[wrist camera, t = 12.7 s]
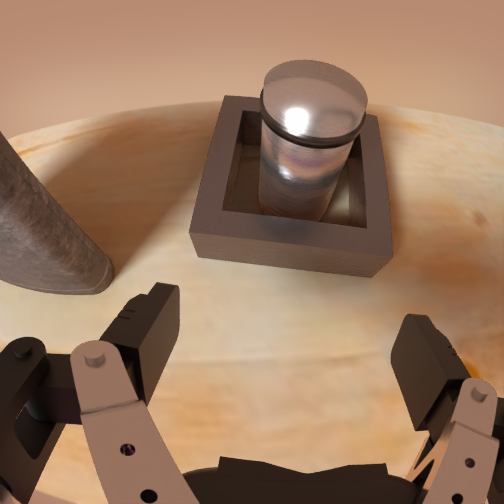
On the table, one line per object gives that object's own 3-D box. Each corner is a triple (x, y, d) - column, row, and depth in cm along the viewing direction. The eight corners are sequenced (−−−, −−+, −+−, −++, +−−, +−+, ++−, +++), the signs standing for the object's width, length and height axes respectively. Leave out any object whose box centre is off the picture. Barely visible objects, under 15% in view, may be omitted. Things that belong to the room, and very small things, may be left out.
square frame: (364, 146, 24) (376, 116, 21) (371, 277, 20) (392, 257, 16) (226, 128, 24) (224, 95, 21) (198, 257, 20) (188, 232, 17)
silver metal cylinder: (330, 172, 23) (364, 68, 14) (329, 234, 21) (376, 135, 12) (260, 163, 23) (266, 53, 14) (251, 224, 21) (253, 117, 12)
